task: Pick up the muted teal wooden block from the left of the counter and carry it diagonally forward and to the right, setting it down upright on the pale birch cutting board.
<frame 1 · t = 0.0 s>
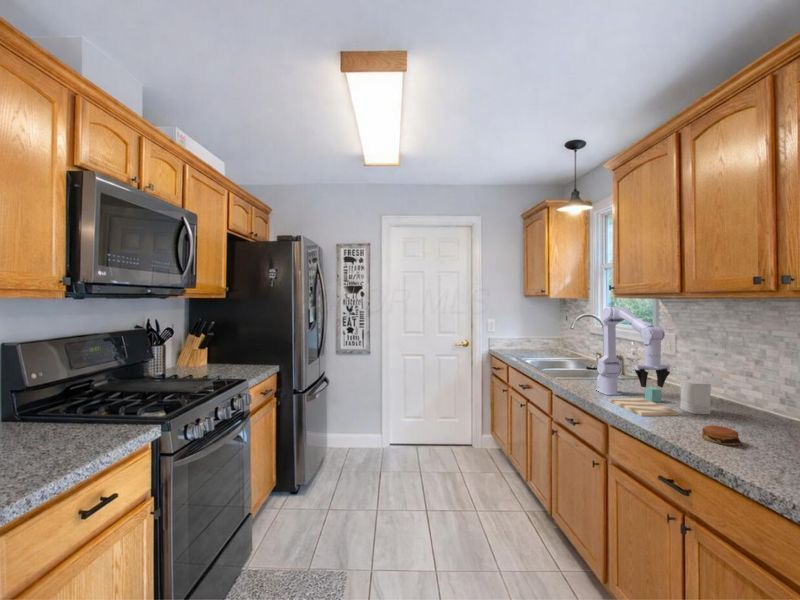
hand: (651, 386, 156), 10 cm above the worktop, fingers open, 7 cm apart
teal block: (652, 401, 170), on the worktop
burger: (720, 442, 123), on the worktop
birch board: (641, 408, 158), on the worktop
supplement box: (694, 412, 155), on the worktop
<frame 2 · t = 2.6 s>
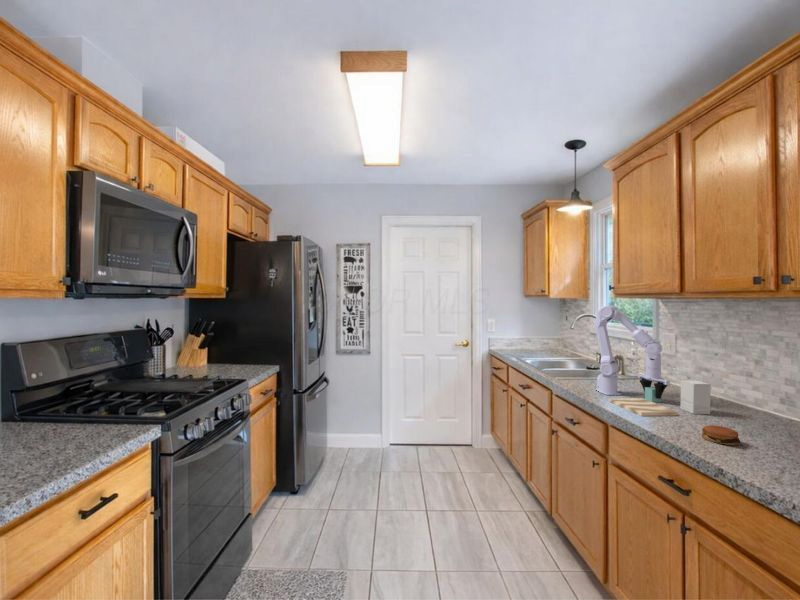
hand: (652, 396, 170), 2 cm above the worktop, fingers closed on teal block, 5 cm apart
teal block: (652, 401, 170), on the worktop, touching gripper
everything else where it was.
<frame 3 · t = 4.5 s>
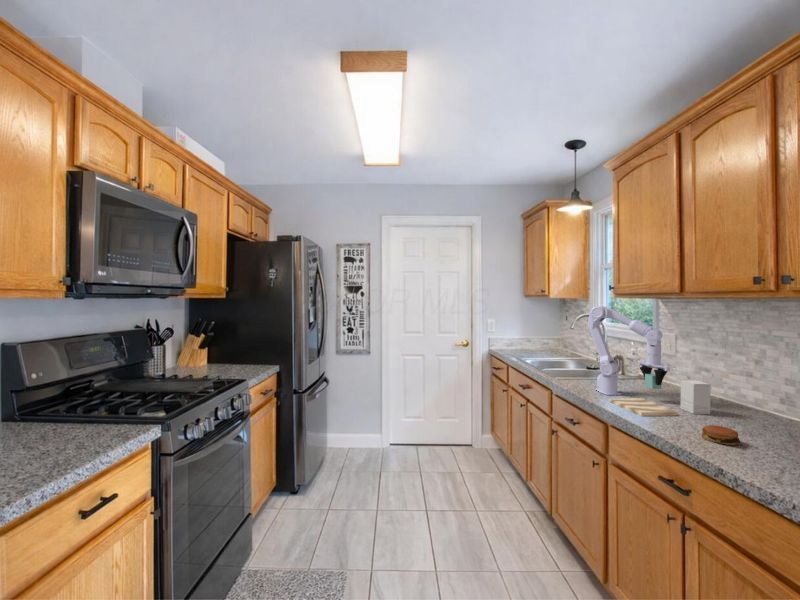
hand: (653, 383, 170), 8 cm above the worktop, fingers closed on teal block, 5 cm apart
teal block: (652, 387, 170), point 6 cm above the worktop, touching gripper
everything else where it was.
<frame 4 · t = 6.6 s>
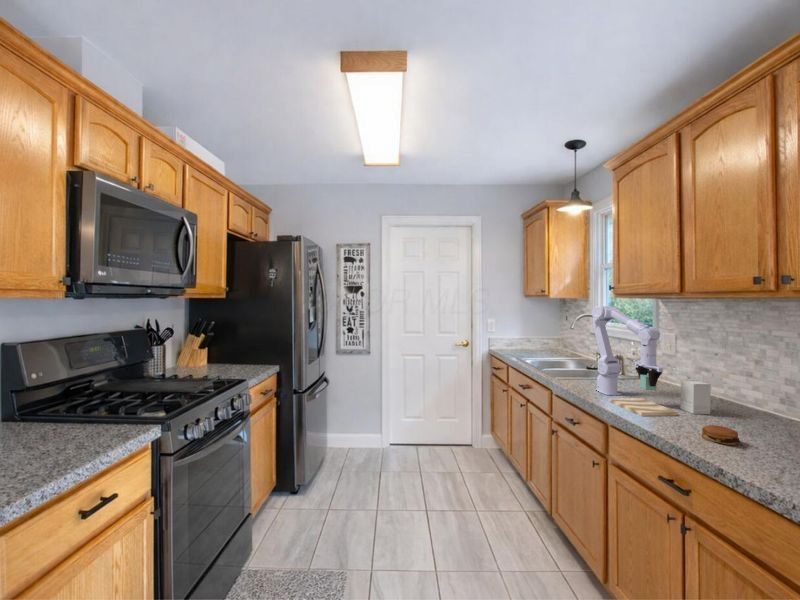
hand: (648, 384, 165), 9 cm above the worktop, fingers closed on teal block, 5 cm apart
teal block: (648, 389, 165), point 7 cm above the worktop, touching gripper
everything else where it was.
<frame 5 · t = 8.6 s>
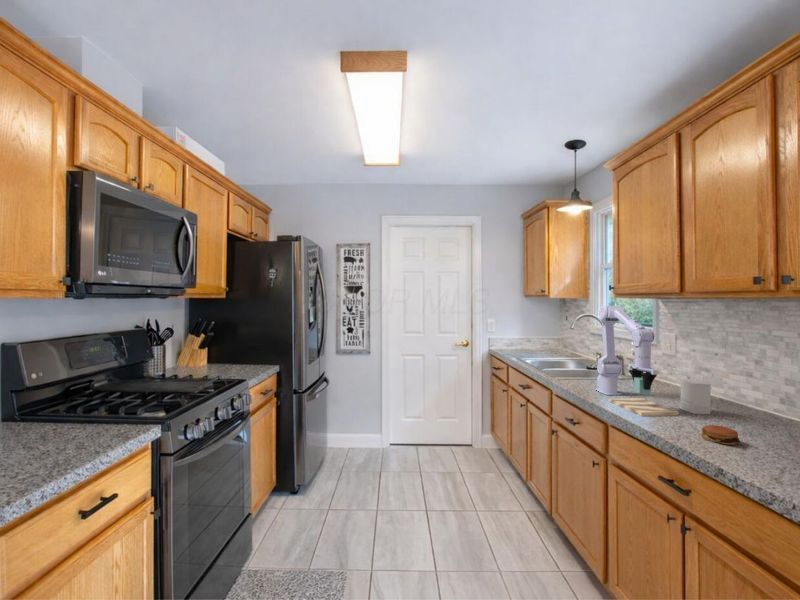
hand: (642, 387, 158), 9 cm above the worktop, fingers closed on teal block, 5 cm apart
teal block: (642, 392, 158), point 7 cm above the worktop, touching gripper
everything else where it was.
when the fingers open (5 cm above the worktop, at t = 10.5 s): teal block drops 1 cm, resting on birch board.
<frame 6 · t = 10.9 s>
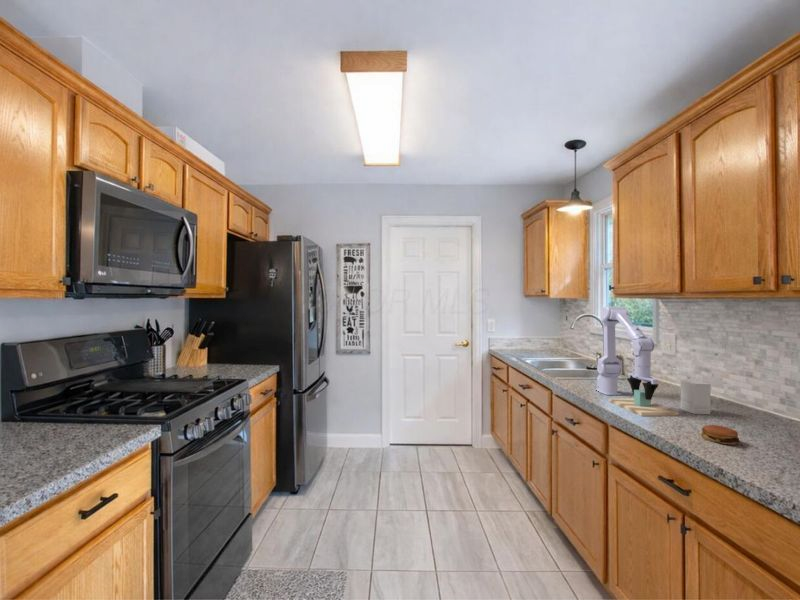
hand: (642, 397, 158), 5 cm above the worktop, fingers open, 7 cm apart
teal block: (642, 404, 158), point 1 cm above the worktop, touching birch board
everything else where it was.
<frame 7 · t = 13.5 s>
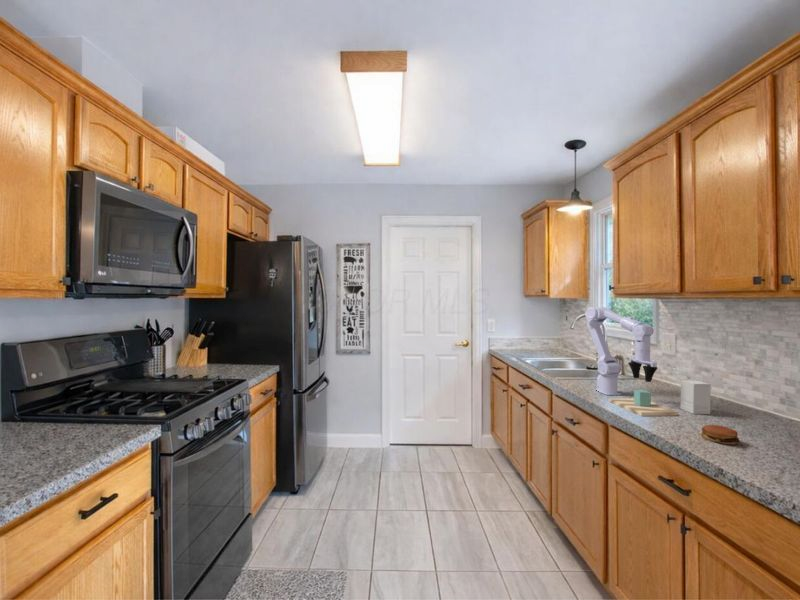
hand: (642, 379, 168), 10 cm above the worktop, fingers open, 7 cm apart
nothing on the worktop moved.
at the end: teal block inside the target area on the birch board (0.1 cm from its centre), point 1.5 cm above the birch board's base; teal block tilted 0°; the gripper is holding nothing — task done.
